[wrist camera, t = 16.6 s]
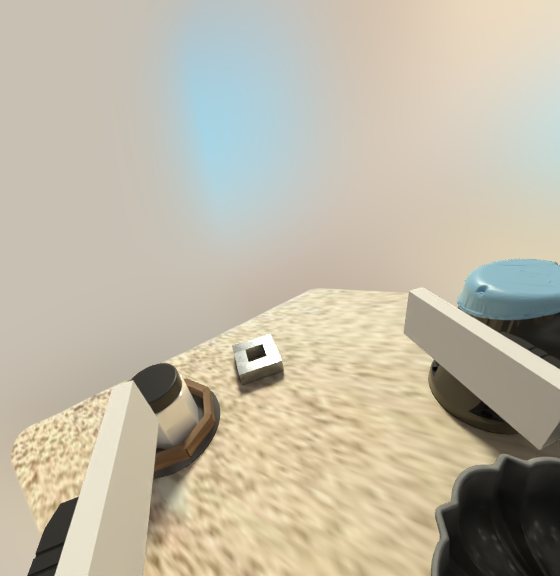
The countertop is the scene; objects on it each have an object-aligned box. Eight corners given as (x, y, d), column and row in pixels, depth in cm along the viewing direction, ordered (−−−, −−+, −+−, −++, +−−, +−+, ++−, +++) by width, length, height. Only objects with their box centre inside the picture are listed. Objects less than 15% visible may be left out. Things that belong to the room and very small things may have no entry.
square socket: (272, 343, 62) (270, 333, 61) (283, 370, 55) (281, 360, 53) (235, 355, 61) (232, 345, 59) (242, 384, 53) (238, 375, 52)
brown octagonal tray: (215, 375, 56) (211, 365, 55) (225, 452, 42) (220, 442, 41) (133, 403, 53) (126, 394, 52) (113, 497, 39) (104, 488, 38)
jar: (155, 414, 50) (127, 371, 44) (198, 398, 51) (177, 354, 45) (151, 461, 42) (116, 417, 36) (201, 441, 44) (176, 395, 38)
